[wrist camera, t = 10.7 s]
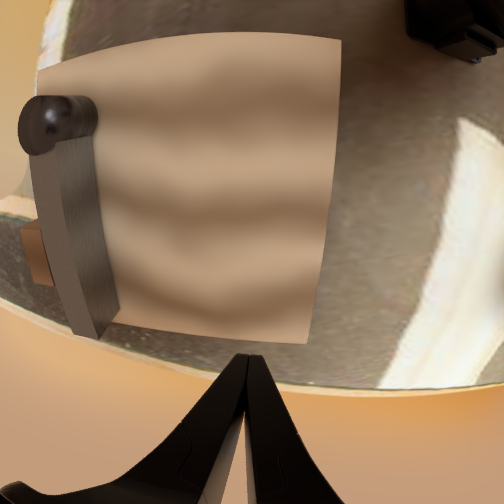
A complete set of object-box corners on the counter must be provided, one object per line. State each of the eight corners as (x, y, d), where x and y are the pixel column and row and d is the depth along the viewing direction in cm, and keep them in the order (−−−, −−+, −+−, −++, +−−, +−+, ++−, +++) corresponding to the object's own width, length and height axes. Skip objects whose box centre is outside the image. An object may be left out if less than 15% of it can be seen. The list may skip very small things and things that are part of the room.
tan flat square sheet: (45, 71, 15) (38, 71, 14) (338, 44, 14) (341, 40, 13) (74, 307, 25) (69, 312, 24) (305, 335, 23) (306, 343, 23)
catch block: (51, 210, 19) (19, 228, 16) (72, 210, 19) (39, 229, 16) (61, 259, 21) (33, 282, 18) (81, 262, 21) (54, 286, 17)
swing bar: (59, 101, 15) (17, 103, 11) (97, 90, 15) (56, 88, 11) (91, 304, 22) (65, 336, 18) (126, 309, 22) (102, 344, 18)
